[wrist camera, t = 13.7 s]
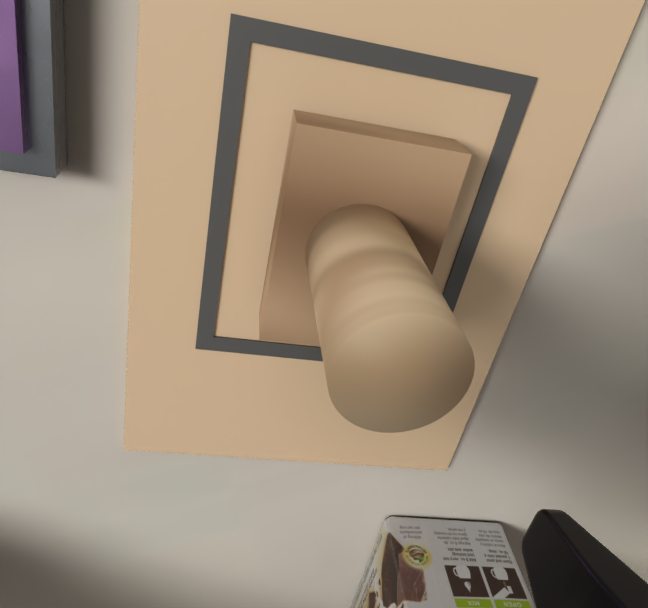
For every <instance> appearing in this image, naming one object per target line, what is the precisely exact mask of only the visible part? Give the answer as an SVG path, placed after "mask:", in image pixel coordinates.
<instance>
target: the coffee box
mask: <svg viewBox="0 0 648 608" xmlns="http://www.w3.org/2000/svg"><path fill="white" fill-rule="evenodd" d="M351 608H536V606H535V603H534V601H533V599H532V596H531V594H530V592H529V589H528V587H527V585H526V582H525V580H524V578H523V575H522V573H521V570H520V568H519V566H518V563H517V561H516V559H515V556H514V554H513V551H512V549H511V547H510V544H509V542H508V539H507V537H506V535H505V532H504V530H503V527H502V525H500V524H499V523H490V522H472V521H458V520H441V519H426V518H409V517H395V516H391V517H388V518H387V519H385V520H384V523H383V525H382V528H381V530H380V533H379V535H378V538H377V541H376V543H375V546H374V549H373V551H372V554H371V556H370V559H369V561H368V564H367V567H366V569H365V572H364V574H363V577H362V579H361V582H360V585H359V587H358V590H357V592H356V595H355V598H354V600H353V603H352V605H351Z"/></svg>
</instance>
